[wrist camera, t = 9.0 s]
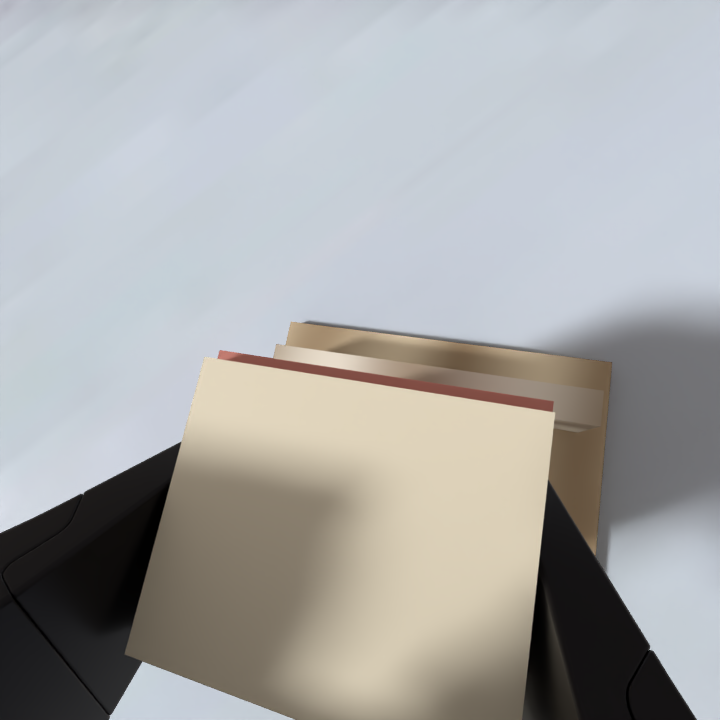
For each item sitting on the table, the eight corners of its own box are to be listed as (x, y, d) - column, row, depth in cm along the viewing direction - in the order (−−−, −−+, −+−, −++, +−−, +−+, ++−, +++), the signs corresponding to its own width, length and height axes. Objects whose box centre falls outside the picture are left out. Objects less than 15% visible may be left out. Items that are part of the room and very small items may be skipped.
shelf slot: (607, 365, 18) (641, 342, 15) (576, 716, 16) (609, 787, 12) (295, 325, 22) (264, 299, 18) (231, 606, 19) (182, 637, 16)
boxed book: (499, 439, 17) (560, 396, 6) (480, 582, 16) (517, 803, 6) (349, 412, 18) (205, 343, 8) (324, 541, 17) (122, 653, 7)
